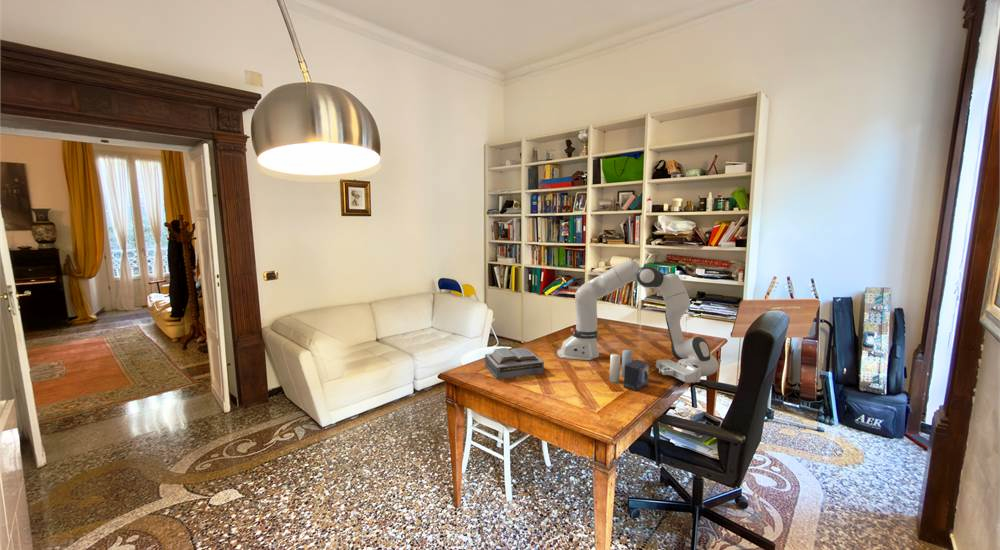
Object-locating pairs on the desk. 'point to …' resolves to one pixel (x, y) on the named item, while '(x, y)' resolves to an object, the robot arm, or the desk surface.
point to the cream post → (614, 368)
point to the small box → (636, 375)
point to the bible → (513, 363)
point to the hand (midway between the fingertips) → (661, 372)
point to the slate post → (626, 359)
